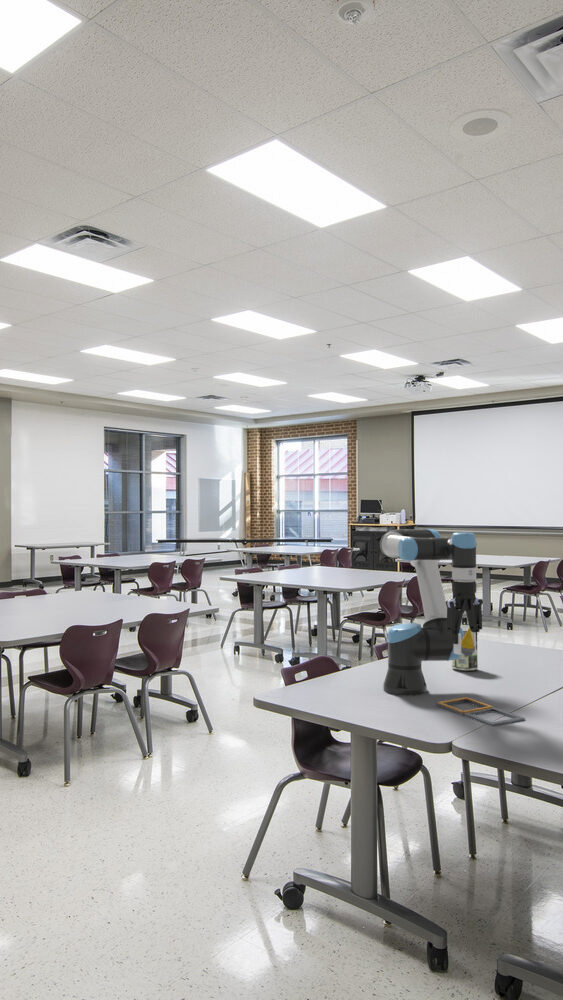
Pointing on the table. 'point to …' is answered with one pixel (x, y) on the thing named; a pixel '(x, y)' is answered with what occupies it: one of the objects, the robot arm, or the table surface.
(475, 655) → the coffee can
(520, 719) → the orange gray double frame
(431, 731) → the table surface
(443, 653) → the robot arm
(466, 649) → the yellow cone
